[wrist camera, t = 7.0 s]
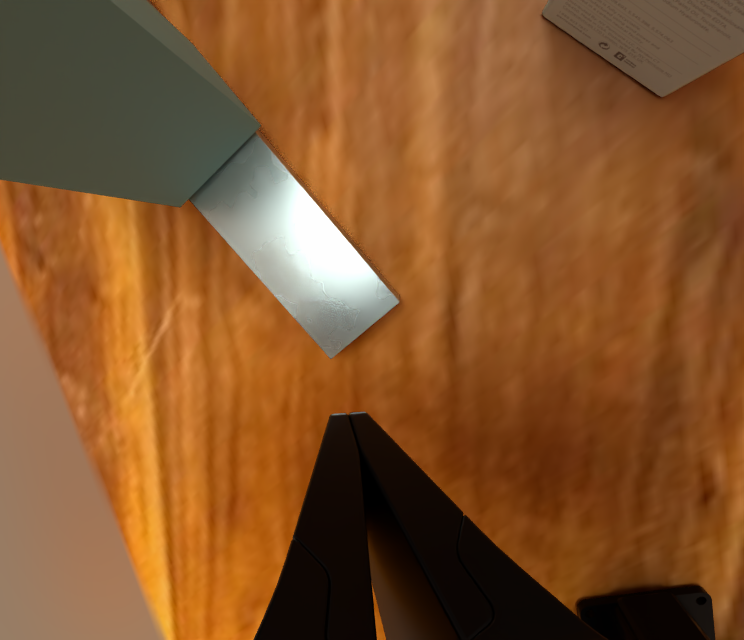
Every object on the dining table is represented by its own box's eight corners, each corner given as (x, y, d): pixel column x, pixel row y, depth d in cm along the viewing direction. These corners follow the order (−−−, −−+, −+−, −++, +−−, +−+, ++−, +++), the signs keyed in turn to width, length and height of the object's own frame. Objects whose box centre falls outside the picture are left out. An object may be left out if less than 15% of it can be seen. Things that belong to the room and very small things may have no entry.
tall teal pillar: (261, 125, 16) (-113, -185, 4) (180, 207, 17) (-317, 130, 5) (181, 30, 16) (-475, -598, 4) (101, 119, 17) (-634, -181, 5)
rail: (406, 290, 19) (419, 411, 6) (331, 352, 20) (184, 589, 6) (105, -66, 17) (-1021, -1238, 4) (37, 19, 18) (-1089, -666, 4)
